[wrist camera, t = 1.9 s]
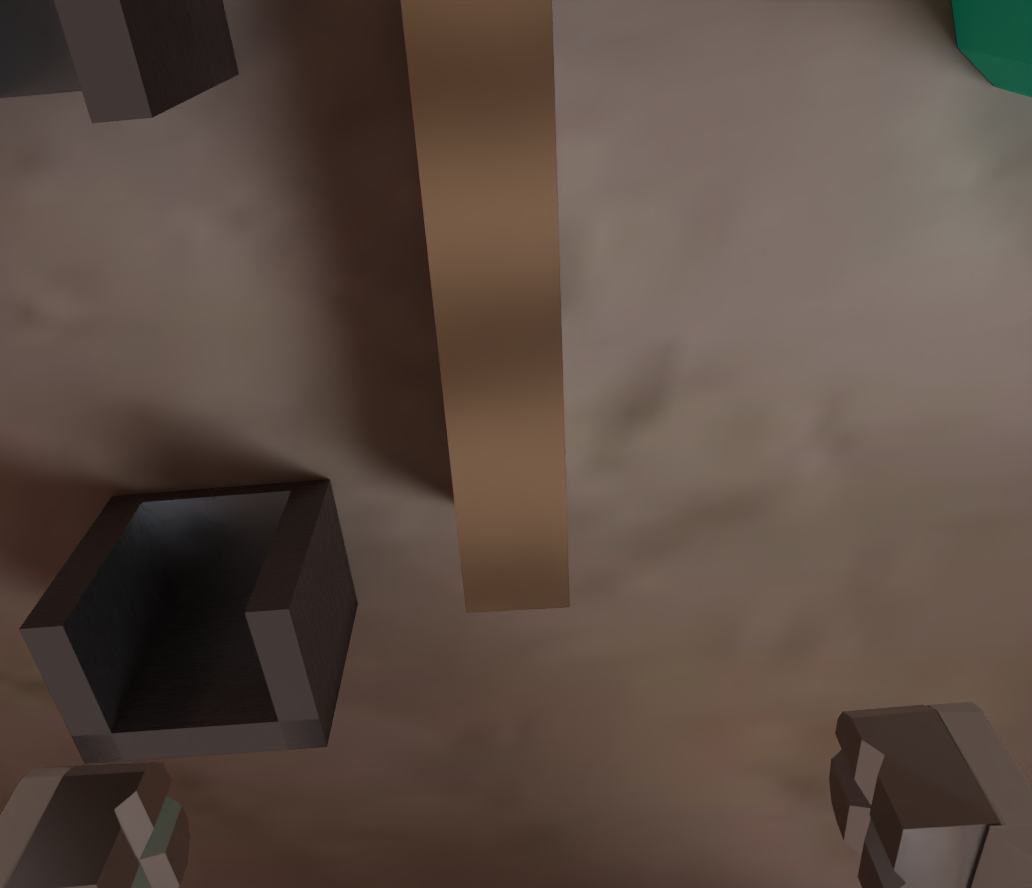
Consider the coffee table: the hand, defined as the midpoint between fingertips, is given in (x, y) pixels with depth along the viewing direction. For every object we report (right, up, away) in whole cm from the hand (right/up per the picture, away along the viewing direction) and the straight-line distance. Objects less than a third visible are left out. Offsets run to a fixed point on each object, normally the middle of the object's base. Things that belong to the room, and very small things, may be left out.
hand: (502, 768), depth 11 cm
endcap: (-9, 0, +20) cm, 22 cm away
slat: (0, +9, +15) cm, 18 cm away
